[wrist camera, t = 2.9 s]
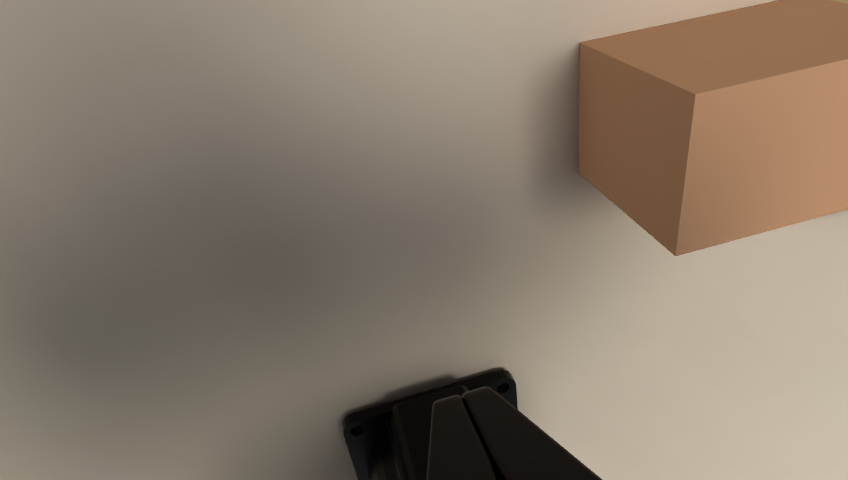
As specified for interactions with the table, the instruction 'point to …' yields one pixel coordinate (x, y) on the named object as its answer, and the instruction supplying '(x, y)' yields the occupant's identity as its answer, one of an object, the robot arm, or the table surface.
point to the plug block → (720, 121)
